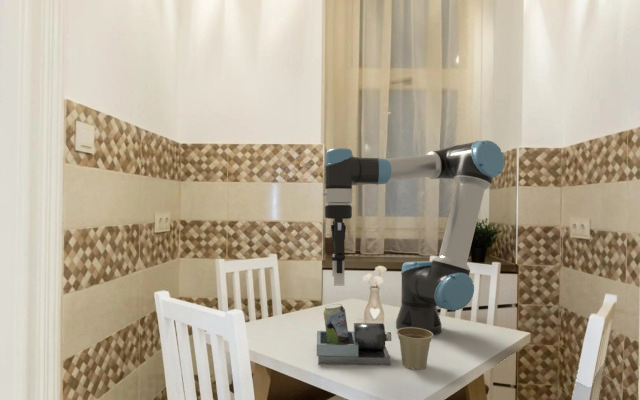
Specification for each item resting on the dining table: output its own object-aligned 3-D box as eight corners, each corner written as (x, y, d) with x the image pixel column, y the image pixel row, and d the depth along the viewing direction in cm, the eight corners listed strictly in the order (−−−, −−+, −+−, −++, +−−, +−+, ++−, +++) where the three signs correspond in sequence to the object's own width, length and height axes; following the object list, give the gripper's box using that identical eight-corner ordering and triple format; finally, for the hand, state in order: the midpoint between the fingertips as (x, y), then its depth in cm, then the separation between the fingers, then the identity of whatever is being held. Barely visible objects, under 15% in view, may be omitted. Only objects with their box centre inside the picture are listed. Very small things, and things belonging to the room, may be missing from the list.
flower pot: (439, 365, 109) (439, 332, 109) (422, 376, 102) (422, 340, 102) (407, 356, 115) (408, 325, 115) (389, 365, 108) (389, 332, 108)
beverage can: (348, 353, 111) (348, 308, 111) (321, 351, 112) (321, 307, 112) (350, 345, 117) (351, 303, 117) (325, 343, 118) (325, 301, 118)
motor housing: (386, 348, 121) (386, 317, 121) (394, 365, 108) (394, 331, 108) (316, 347, 121) (317, 316, 121) (316, 364, 108) (316, 330, 108)
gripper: (324, 204, 127) (324, 272, 127) (325, 204, 102) (325, 289, 102) (348, 204, 127) (348, 273, 127) (355, 204, 102) (355, 289, 102)
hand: (338, 280), depth 115 cm, fingers open, 13 cm apart
